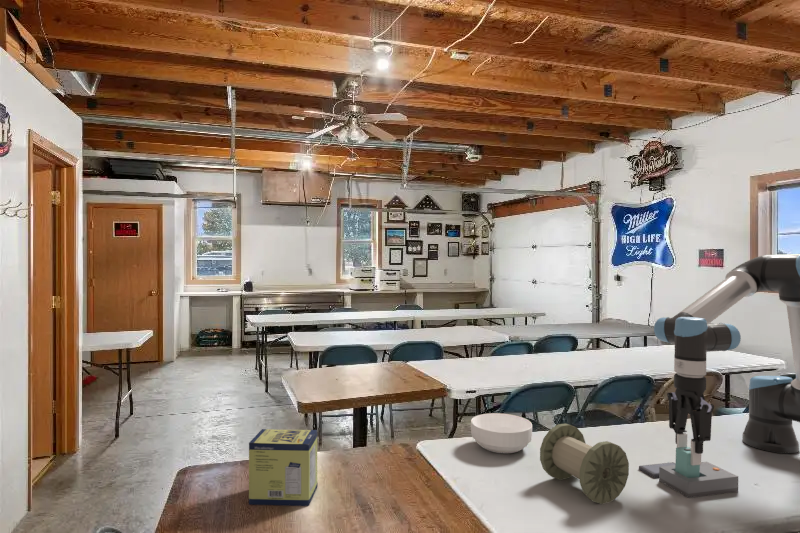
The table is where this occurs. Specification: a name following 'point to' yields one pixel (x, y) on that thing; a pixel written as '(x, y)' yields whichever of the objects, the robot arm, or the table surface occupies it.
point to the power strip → (700, 481)
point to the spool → (585, 462)
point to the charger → (686, 463)
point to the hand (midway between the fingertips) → (688, 460)
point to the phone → (653, 469)
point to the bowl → (501, 432)
